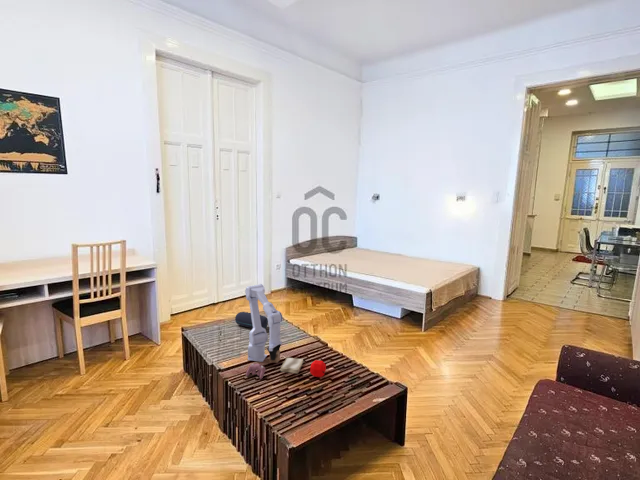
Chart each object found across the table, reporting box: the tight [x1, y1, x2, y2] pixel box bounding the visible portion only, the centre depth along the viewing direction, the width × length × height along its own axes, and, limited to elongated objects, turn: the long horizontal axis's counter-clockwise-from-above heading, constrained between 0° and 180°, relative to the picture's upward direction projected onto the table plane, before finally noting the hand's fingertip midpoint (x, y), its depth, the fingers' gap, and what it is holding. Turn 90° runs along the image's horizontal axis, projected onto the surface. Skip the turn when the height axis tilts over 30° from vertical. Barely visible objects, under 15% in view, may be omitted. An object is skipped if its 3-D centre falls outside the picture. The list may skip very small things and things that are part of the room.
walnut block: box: [269, 349, 281, 364], centre depth 185 cm, size 4×4×5 cm
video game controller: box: [245, 363, 267, 380], centre depth 183 cm, size 10×5×7 cm, turn 71°
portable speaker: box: [234, 311, 269, 329], centre depth 244 cm, size 25×10×10 cm, turn 66°
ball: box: [309, 359, 327, 378], centre depth 184 cm, size 8×8×8 cm
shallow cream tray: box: [280, 357, 304, 374], centre depth 193 cm, size 10×12×2 cm
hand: (274, 357), depth 185 cm, fingers closed on walnut block, 4 cm apart
